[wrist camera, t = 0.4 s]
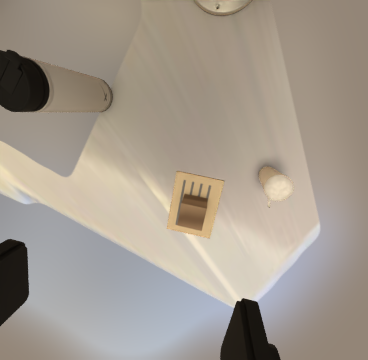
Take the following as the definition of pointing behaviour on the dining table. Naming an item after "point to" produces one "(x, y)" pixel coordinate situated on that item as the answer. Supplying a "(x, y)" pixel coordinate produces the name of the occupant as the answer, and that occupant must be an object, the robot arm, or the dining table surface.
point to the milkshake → (275, 184)
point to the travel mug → (48, 87)
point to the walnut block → (192, 212)
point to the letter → (195, 187)
